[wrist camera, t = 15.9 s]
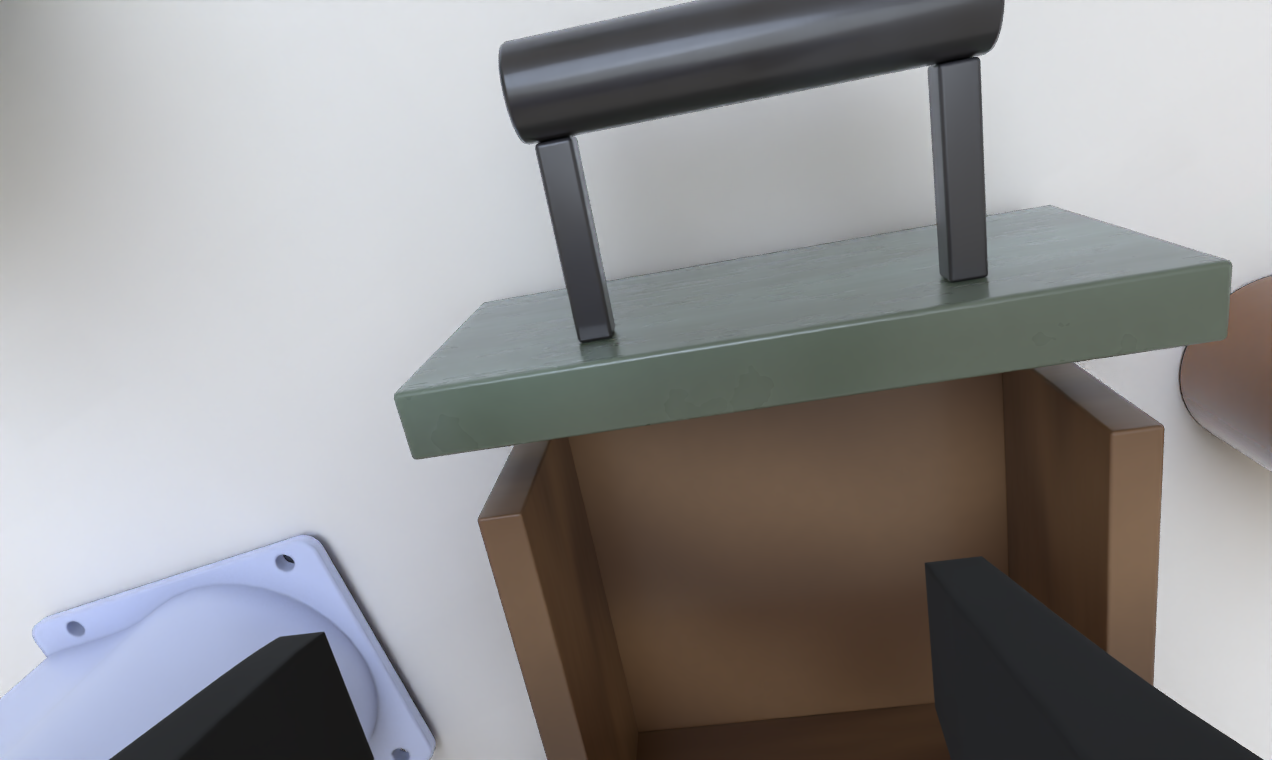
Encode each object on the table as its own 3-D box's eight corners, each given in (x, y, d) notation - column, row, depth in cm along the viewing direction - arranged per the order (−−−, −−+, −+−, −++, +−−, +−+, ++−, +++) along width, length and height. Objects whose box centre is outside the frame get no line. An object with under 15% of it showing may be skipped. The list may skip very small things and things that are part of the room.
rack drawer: (424, 82, 16) (290, 77, 11) (1049, -50, 15) (1263, -135, 9) (593, 728, 22) (562, 940, 16) (1056, 682, 20) (1190, 898, 15)
